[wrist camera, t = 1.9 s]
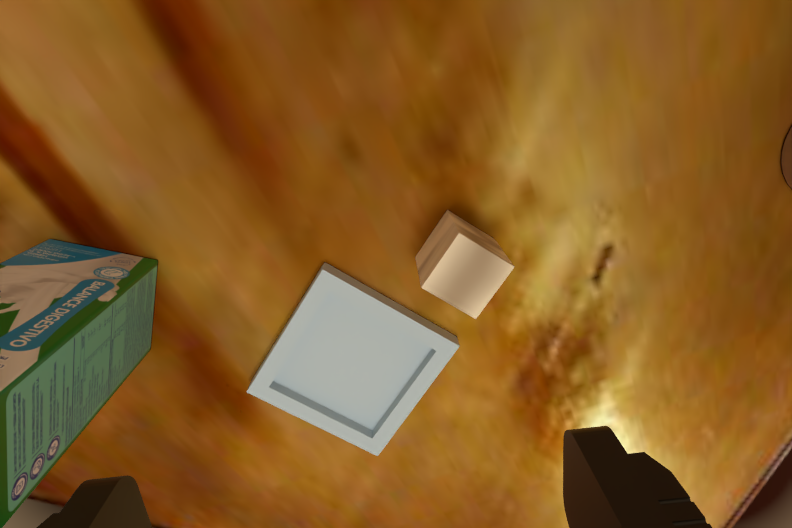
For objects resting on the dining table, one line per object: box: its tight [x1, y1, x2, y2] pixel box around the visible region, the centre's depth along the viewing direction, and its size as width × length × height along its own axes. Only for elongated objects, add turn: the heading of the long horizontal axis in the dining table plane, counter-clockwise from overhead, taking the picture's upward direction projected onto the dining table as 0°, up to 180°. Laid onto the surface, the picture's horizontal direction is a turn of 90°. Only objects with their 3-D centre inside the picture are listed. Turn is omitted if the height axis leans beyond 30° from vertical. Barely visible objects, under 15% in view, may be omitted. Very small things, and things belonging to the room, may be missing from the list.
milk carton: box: [0, 239, 158, 528], centre depth 34 cm, size 9×9×25 cm
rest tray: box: [247, 262, 459, 456], centre depth 48 cm, size 14×14×2 cm
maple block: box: [415, 210, 514, 319], centre depth 42 cm, size 5×5×7 cm
